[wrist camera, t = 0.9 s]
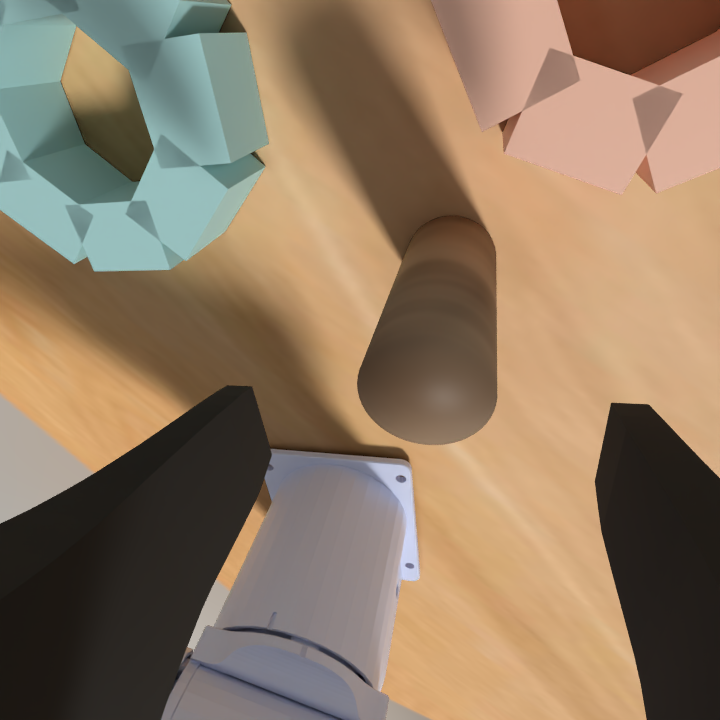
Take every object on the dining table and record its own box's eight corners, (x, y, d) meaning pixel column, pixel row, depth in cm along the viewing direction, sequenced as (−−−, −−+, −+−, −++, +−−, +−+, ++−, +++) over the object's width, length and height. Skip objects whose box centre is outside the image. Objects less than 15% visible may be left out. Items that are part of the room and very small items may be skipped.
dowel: (494, 299, 18) (494, 449, 12) (409, 299, 19) (365, 440, 12) (497, 213, 16) (500, 334, 10) (403, 217, 17) (349, 332, 11)
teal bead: (287, 236, 18) (257, 267, 16) (76, 244, 21) (22, 272, 19) (217, -113, 13) (155, -144, 11) (-54, -47, 16) (-154, -61, 13)
